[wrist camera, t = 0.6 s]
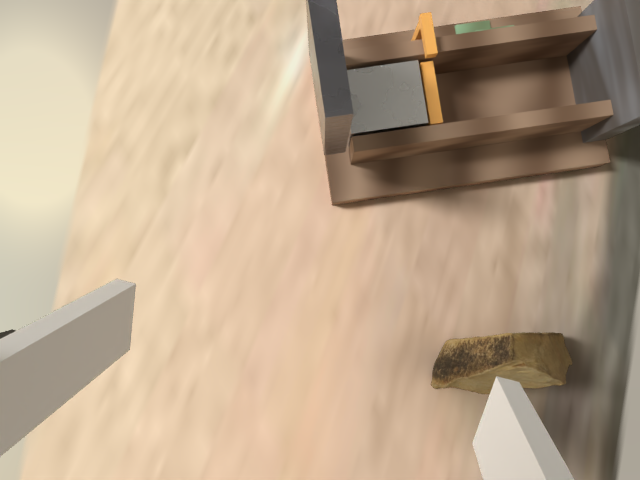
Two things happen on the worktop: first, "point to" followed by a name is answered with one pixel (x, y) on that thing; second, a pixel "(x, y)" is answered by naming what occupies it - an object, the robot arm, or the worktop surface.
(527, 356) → the rock
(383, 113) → the push plunger
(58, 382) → the robot arm
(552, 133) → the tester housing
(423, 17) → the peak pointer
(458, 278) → the worktop surface
